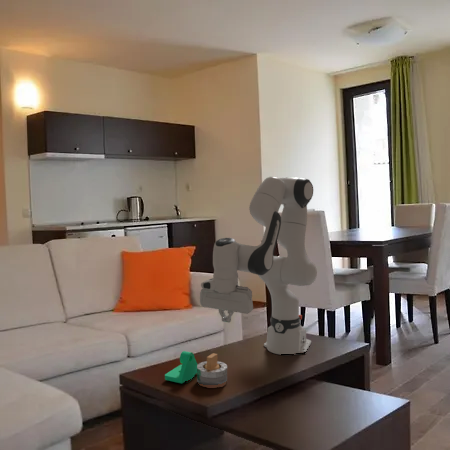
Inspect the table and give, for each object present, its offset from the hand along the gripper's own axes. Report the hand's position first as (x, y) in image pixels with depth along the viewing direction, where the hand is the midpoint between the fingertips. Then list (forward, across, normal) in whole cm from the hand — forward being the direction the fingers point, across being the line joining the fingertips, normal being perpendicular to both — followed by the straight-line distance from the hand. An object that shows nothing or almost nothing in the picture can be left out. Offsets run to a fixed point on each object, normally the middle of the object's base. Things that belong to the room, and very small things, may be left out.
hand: (226, 321), depth 195 cm
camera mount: (+21, +14, +9) cm, 27 cm away
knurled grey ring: (+21, +2, +7) cm, 22 cm away
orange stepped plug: (+17, +2, +7) cm, 18 cm away
